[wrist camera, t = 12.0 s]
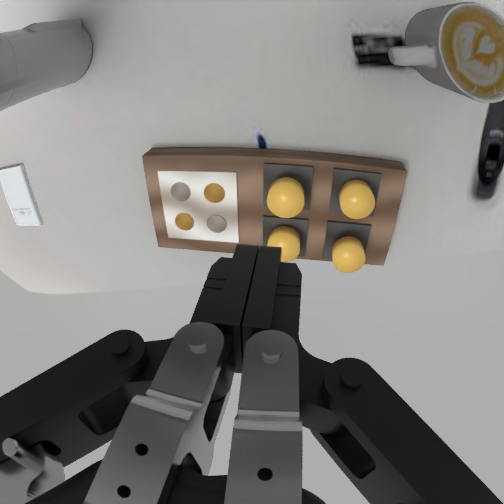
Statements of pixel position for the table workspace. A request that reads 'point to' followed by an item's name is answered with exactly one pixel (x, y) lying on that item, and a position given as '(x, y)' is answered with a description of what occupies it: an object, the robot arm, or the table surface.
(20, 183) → the external hard drive
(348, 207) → the button
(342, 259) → the button
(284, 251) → the button
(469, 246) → the table surface
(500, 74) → the coffee mug
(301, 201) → the button
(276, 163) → the button board
